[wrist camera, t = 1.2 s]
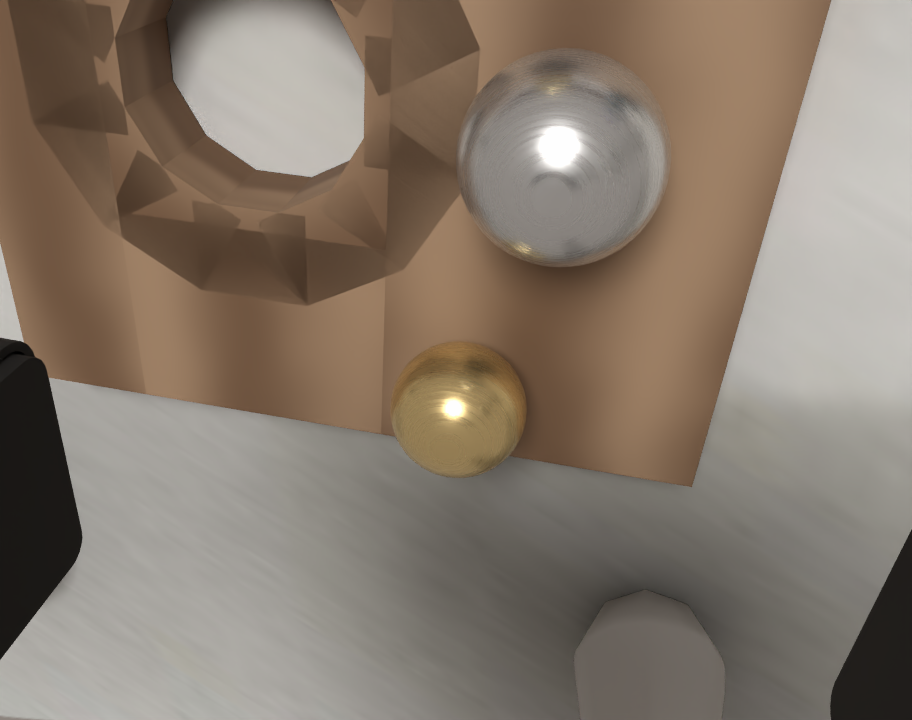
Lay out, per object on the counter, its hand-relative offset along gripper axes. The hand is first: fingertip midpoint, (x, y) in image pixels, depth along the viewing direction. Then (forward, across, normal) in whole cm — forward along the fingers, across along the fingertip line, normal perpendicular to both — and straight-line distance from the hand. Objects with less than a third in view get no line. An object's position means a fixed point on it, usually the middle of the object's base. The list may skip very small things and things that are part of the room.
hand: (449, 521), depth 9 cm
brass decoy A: (+13, +2, +8) cm, 16 cm away
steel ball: (+13, 0, 0) cm, 13 cm away
